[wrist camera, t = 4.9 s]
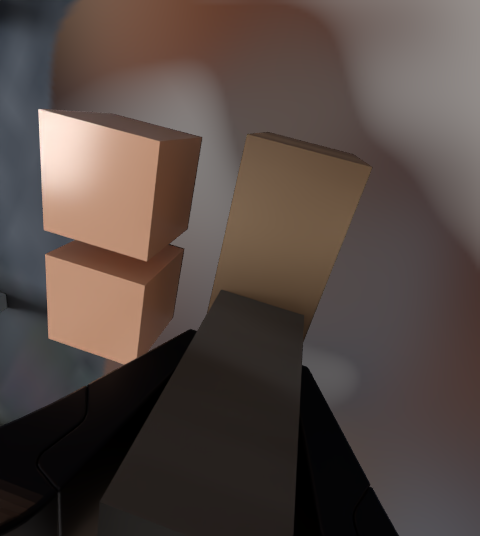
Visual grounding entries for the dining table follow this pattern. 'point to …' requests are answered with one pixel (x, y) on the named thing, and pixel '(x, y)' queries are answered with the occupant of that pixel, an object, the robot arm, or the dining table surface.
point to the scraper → (243, 358)
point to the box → (3, 302)
